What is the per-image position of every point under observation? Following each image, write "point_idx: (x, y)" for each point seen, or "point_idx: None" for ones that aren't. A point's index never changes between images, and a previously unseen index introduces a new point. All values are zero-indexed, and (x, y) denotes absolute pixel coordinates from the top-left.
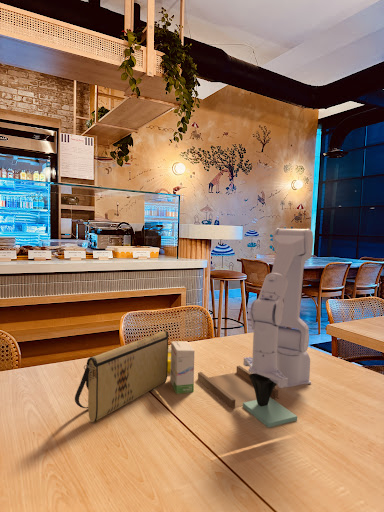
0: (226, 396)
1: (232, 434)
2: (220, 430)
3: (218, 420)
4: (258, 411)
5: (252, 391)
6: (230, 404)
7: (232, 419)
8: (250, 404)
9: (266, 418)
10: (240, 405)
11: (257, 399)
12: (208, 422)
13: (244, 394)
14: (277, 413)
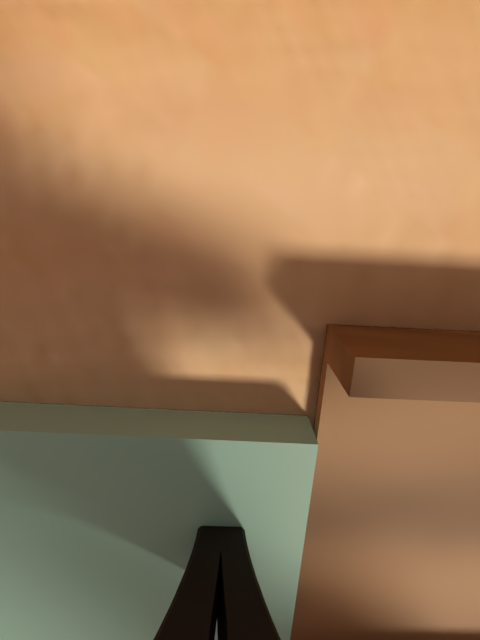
0: (460, 360)
1: (3, 103)
2: (96, 34)
3: (249, 123)
4: (141, 468)
5: (449, 600)
6: (360, 338)
7: (209, 250)
8: (264, 478)
9: (22, 457)
10: (334, 419)
11: (234, 559)
12: (262, 3)
13: (450, 535)
14: (61, 562)
